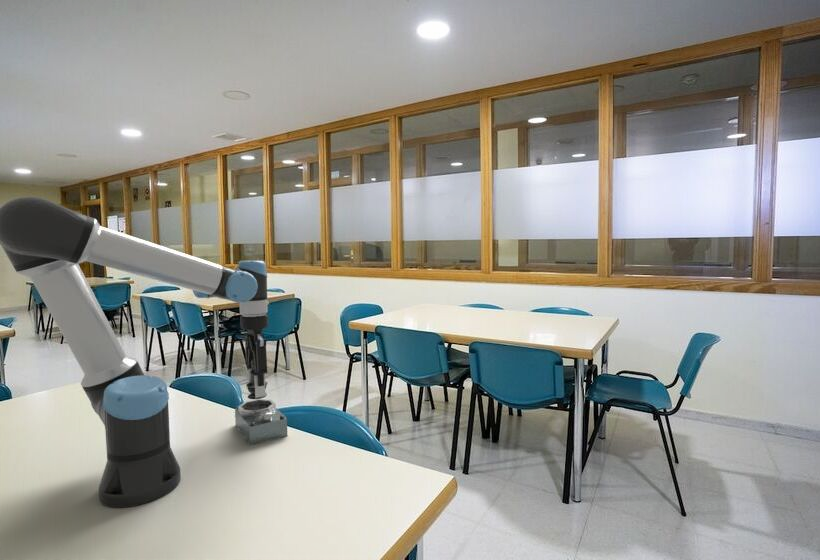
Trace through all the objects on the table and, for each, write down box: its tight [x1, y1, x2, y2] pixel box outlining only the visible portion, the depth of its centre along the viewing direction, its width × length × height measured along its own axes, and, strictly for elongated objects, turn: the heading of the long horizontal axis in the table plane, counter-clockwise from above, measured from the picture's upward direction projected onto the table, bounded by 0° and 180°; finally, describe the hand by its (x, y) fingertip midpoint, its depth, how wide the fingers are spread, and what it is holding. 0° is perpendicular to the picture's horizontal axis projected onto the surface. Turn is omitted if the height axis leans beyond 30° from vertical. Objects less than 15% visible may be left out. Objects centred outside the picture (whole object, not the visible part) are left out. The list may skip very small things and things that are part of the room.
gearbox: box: [234, 398, 288, 446], centre depth 124 cm, size 16×10×7 cm, turn 35°
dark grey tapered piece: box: [245, 359, 268, 400], centre depth 126 cm, size 6×6×12 cm
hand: (257, 393), depth 126 cm, fingers closed on dark grey tapered piece, 6 cm apart
